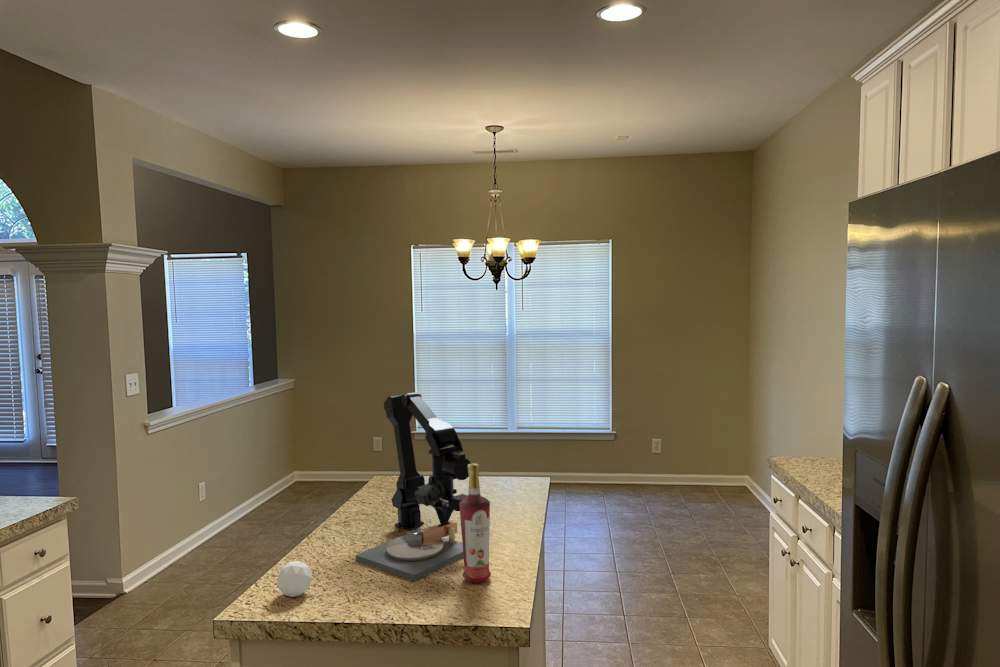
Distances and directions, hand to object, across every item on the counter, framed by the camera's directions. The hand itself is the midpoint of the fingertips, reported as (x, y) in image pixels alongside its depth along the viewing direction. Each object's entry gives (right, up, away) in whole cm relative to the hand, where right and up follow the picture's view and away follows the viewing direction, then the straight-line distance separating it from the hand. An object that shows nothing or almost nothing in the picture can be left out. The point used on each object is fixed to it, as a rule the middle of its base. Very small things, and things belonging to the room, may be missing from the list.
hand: (443, 527), depth 179 cm
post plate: (-7, -5, -8) cm, 12 cm away
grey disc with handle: (-5, -3, -7) cm, 9 cm away
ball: (-32, -7, -29) cm, 44 cm away
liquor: (+10, -6, -24) cm, 27 cm away
